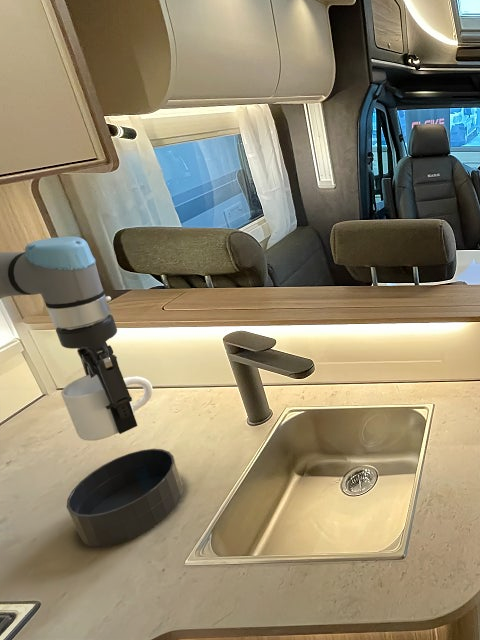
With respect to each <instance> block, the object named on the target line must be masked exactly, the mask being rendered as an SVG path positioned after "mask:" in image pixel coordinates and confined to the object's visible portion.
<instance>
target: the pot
mask: <svg viewBox="0 0 480 640" xmlns="http://www.w3.org/2000/svg"><path fill="white" fill-rule="evenodd" d="M183 493H184V486H183V482H182V478H181V475H180V472H179V469H178V467H177V463H176V460H175V457H174V455H173V454H172V453H171V452H170V451H168V450H165V449H162V448H148V449H141V450H136V451H133V452H130V453H127V454H125V455H121V456H118V457H116V458H114V459H112V460H111V461H109V462H106V463H104V464H103V465H101V466H99V467H98V468H96V469H95V470H93V471H92V472H90V473H89V474H87V476H85V477H84V478H83V479H82V480H80V481H79V482H78V483H77V485H76V486H75V487H74V488H73V489H72V490H71V492H70V493H69V495H68V497H67V499H66V509H67V511H68V513H69V516H70V518H71V520H72V522H73V525H74V527H75V529H76V531H77V533H78V536H79V538H80V540H81V541H82V543H83V544H85V545H86V546H89V547H93V548H105V547H111V546H117V545H119V544H123V543H125V542H128V541H131V540H133V539H135V538H138V537H140V536H141V535H142V534H145V533H146V532H148V531H150V530H151V529H153V528H154V527H156V526H157V525H158V524H159V523H161V522H162V521H163V520H164V519H166V518H167V517H168V516H169V515H170V513H172V512H173V510H174V509H175V508H176V507H177V505H178V504H179V502H180V500H181V498H182V496H183Z"/></svg>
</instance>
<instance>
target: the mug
mask: <svg viewBox="0 0 480 640" xmlns="http://www.w3.org/2000/svg"><path fill="white" fill-rule="evenodd" d="M123 379H124V381H125V384H126V386H127V387H128V386H130V385H140V386H141V387H142V388H143V390H144V391H143V396H142V397H141V398H140V399H139V400H137V401H135V402H133V403H132V401H131V402H130V405H131V408H132V411H133V414H134V417H136V416H135V410H139V409H140V408H142V407H143V406H145V405H146V404H147V403H148V402H149V401H150V400H151V398H152V395H153V393H154V391H153V390H154V389H153V385H152V383H151V382H150V381H149V380H148V379H146V378H144V377H142V376H128V377H123ZM60 393H61V394H60V395H61V397H62V399H63V402H64V404H65V407H66V409H67V412H68V414H69V418H70V419H71V422H72V425H73V427H74V429H75V432H76V434H77V436H78V437H79V438H80V439H81V440H83V441H87V442H88V441H91V442H92V441H93V442H94V441H100V440H104V439H107V438H110V437H112V436H115V435H116V434H119V432H118V429H117V427H116V424H115V421H114V418H113V416H112V413H111V410H110V409H108V410H107V409H106V406H108V405H110V402H109V400H108V398H107V396H106V393H105V390H104V389H103V387H102V385H101V383H100V380H99V378H98V376H97V375H95V376H94V377H93V378H91V376H90V375H87V376H86V375H84V376H82V377H80V378H78V379H75V380H73V381H72V382H69V383H68V384H66V385H65V386H64V387H63V389H62V390H61V392H60Z"/></svg>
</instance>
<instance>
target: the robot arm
mask: <svg viewBox="0 0 480 640" xmlns="http://www.w3.org/2000/svg"><path fill="white" fill-rule="evenodd" d="M96 263H97V261H96V258H95V256H94V255H93V253H92V251H91V249H90V246H89V244H88V242H87V241H86V240H85V239H84V238H82V237H80V236H79V237H78V236H72V235H71V236H69V235H67V236H59V237H48V238H42V239H38V240H34V241H32V242H29V243H28V244H26V246H25V247H24V251H8V252H7V251H6V252H5V251H4V252H0V300H2V299H4V298H6V297H7V298H8V297H12V296H13V297H14V296H15V297H16V296H32V295H41V296H42V299H43V302H44V303H45V308H46V311H47V313H48V316H49V319H50V321H51V323H52V326H53V327H54V328H55V332H56V335H57V337H58V341H59V343H60V345H61V347H63V348H66V349H71V350H72V349H73V350H74V349H77V354H78V355H77V356H79V358H80V361H81V364H82V366H83V371H84V374H85V376H87V375H90V376H91V378H93V377H94V376H95V375H97V376H98V378H99V380H100V383H101V385H102V387H103V389H104V390H105V393H106V396H107V398H108V400H109V402H110V405H108V406H106V409H107V410H108V409H110V410H111V413H112V416H113V418H114V421H115V424H116V427H117V429H118V432H119V433H118V434H119V435H121V434H124V433H125V432H128V431H130V430H132V429H134V428H136V427H138V422H137V419H136V416H134V414H135V413H134V414H133V411H132V408H131V405H130V402H131V403H132V401H133V397H132V396H131V393H130V391H129V389H128V385H127V386H126V384H125V381H124V379H123V378H124V376H123V374H122V371H121V369H120V367H119V362H118V358H117V356H116V355H115V354H114V350H113V348H112V346H111V345H108V343H107V341H108V340H110V339H112V338H113V337H114V336H116V334H117V333H118V328H117V325H116V321H115V319H114V316H113V315H112V314H111V313H112V312H111V308H110V305H109V303H108V302H110V301H111V300H112V297H111V296H109V295H107V296H106V293H105V290H104V287H103V285H102V282H101V278H100V275H99V271H98V267H97V264H96Z"/></svg>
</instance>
